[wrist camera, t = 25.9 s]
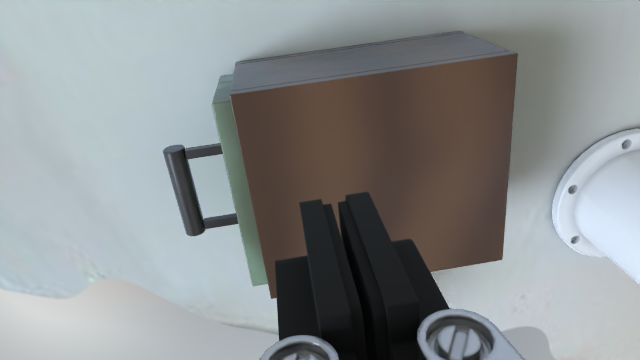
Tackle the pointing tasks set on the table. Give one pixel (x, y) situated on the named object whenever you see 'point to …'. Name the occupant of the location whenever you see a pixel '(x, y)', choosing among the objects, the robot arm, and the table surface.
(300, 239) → the cabinet
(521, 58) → the table surface
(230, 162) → the drawer
